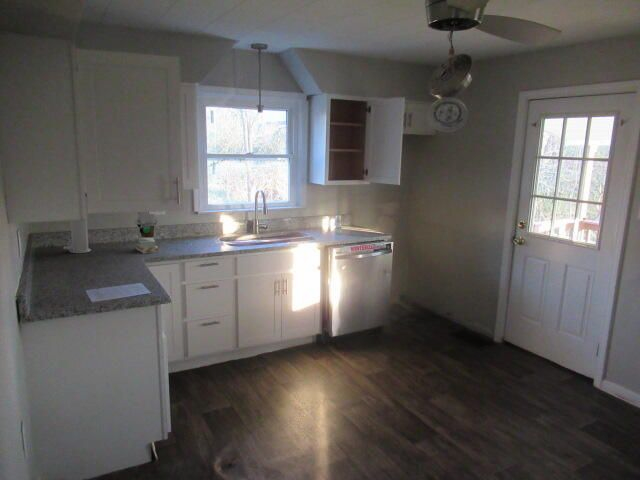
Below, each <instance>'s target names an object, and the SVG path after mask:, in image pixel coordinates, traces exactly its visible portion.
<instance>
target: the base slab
mask: <svg viewBox="0 0 640 480" xmlns="http://www.w3.org/2000/svg"><path fill="white" fill-rule="evenodd" d="M135 246H136V247H135V248H136V250H137V251H139V252H140V253H142V254H149V253H150V254H152V253H159V247H158V246H157V245H155V247H150V248H141V246H140V244H139V243H137V244H135Z"/></svg>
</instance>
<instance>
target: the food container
mask: <svg viewBox="0 0 640 480" xmlns="http://www.w3.org/2000/svg"><path fill="white" fill-rule="evenodd" d="M138 224H139V225H141V224H140V223H138ZM155 226H156V225H155V224H154V223H145V224H142V228H143V234H141V233H140V235H141V238H154V237H155V236H154V234H155Z"/></svg>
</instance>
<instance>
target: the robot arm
mask: <svg viewBox="0 0 640 480" xmlns="http://www.w3.org/2000/svg"><path fill="white" fill-rule="evenodd" d="M145 223H154V224H155V226H156V224H158V220H157V219H156V216H155V213H154V214H149V213H147V212H139V211H138V213H137V219H136V220H135V222H134V224H135V225H136V226H137V227H138V228H139V233H140V235H141V234H143V228H142V224H145ZM139 224H141V225H139ZM88 230H89V229H88V219H87V220H86V221H71V220H70V231H71V232H70V233H71V244H70V245H67V246H66V245H64V246H63V250H69V253H72V254H85V253H90V252H91V251H92V249H91V248H89V235H88V234H89V233H88V232H89V231H88Z"/></svg>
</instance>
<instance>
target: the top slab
mask: <svg viewBox="0 0 640 480" xmlns="http://www.w3.org/2000/svg"><path fill="white" fill-rule="evenodd" d="M138 241H139V243H138V244H140V246H141V248H150V247H155V246H156V240H155V238H154V237H141V238H140V237H139V238H138Z"/></svg>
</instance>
